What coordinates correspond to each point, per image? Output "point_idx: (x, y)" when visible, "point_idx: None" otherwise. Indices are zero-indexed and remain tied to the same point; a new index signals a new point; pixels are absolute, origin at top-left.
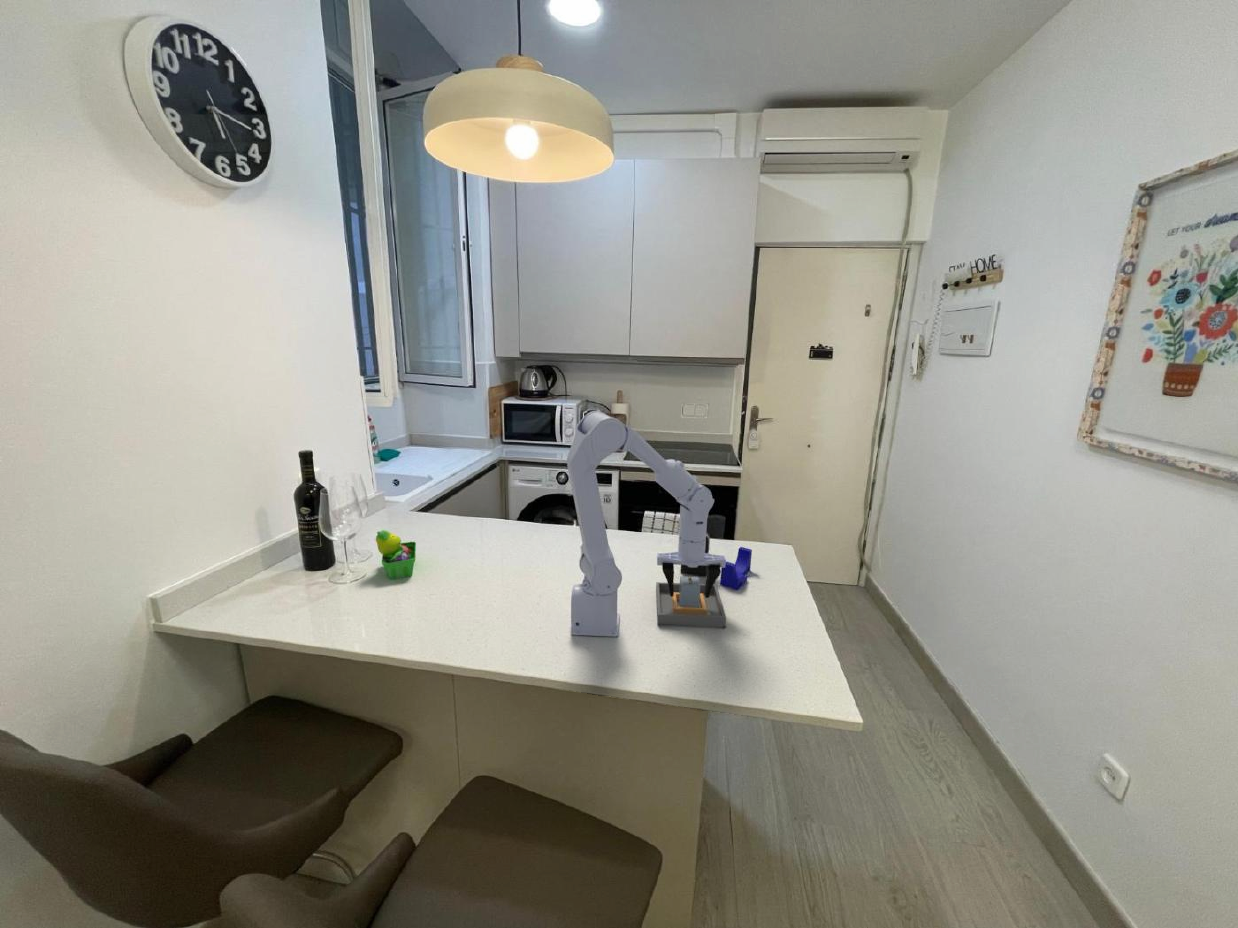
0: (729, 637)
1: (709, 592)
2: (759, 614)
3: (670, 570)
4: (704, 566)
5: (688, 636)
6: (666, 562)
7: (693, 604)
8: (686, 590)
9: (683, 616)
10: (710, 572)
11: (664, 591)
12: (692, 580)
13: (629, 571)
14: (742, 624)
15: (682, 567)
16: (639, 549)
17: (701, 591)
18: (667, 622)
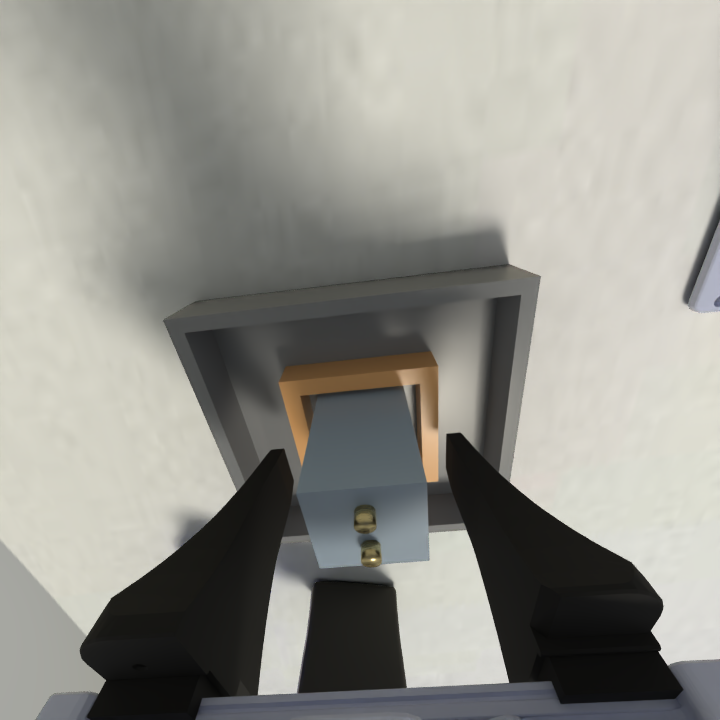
0: (158, 225)
1: (255, 470)
2: (89, 421)
3: (583, 605)
4: (316, 622)
5: (358, 191)
6: (632, 705)
7: (342, 403)
8: (386, 454)
9: (391, 291)
10: (168, 625)
11: None
12: (352, 534)
13: None
14: (131, 344)
15: (392, 608)
16: None
17: None
18: (466, 272)
